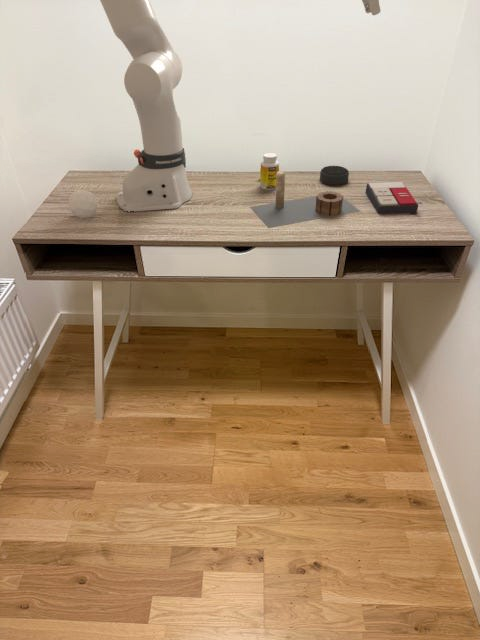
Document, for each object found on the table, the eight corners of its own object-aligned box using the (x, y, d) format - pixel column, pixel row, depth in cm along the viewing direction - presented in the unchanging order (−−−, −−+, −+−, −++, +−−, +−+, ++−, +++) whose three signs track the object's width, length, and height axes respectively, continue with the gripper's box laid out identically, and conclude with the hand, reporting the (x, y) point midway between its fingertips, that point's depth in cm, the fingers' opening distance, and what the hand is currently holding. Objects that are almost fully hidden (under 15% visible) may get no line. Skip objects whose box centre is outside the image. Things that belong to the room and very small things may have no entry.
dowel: (277, 209, 138) (278, 174, 132) (274, 205, 139) (275, 171, 133) (285, 207, 138) (286, 173, 132) (281, 204, 140) (283, 170, 134)
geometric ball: (95, 225, 138) (103, 208, 132) (66, 222, 134) (73, 204, 128) (91, 204, 141) (99, 186, 135) (63, 200, 136) (70, 181, 130)
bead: (323, 217, 133) (324, 203, 131) (311, 207, 138) (312, 193, 136) (345, 212, 135) (347, 199, 133) (333, 203, 140) (334, 190, 138)
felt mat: (268, 229, 129) (268, 227, 128) (249, 208, 139) (249, 207, 139) (360, 212, 136) (360, 211, 136) (336, 193, 147) (336, 192, 146)
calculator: (379, 204, 132) (366, 180, 144) (377, 218, 135) (364, 194, 147) (419, 202, 133) (403, 179, 144) (416, 217, 135) (400, 193, 147)
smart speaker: (331, 189, 150) (332, 177, 147) (313, 180, 156) (314, 168, 153) (353, 183, 153) (355, 171, 151) (335, 175, 159) (336, 163, 157)
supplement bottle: (267, 192, 148) (267, 159, 142) (256, 186, 152) (257, 154, 146) (281, 188, 150) (283, 155, 144) (271, 182, 154) (271, 150, 148)
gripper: (337, -48, 112) (354, 17, 119) (346, -54, 95) (365, 22, 102) (364, -62, 110) (379, 5, 117) (378, -70, 94) (395, 8, 100)
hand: (373, 13), depth 110 cm, fingers open, 8 cm apart
